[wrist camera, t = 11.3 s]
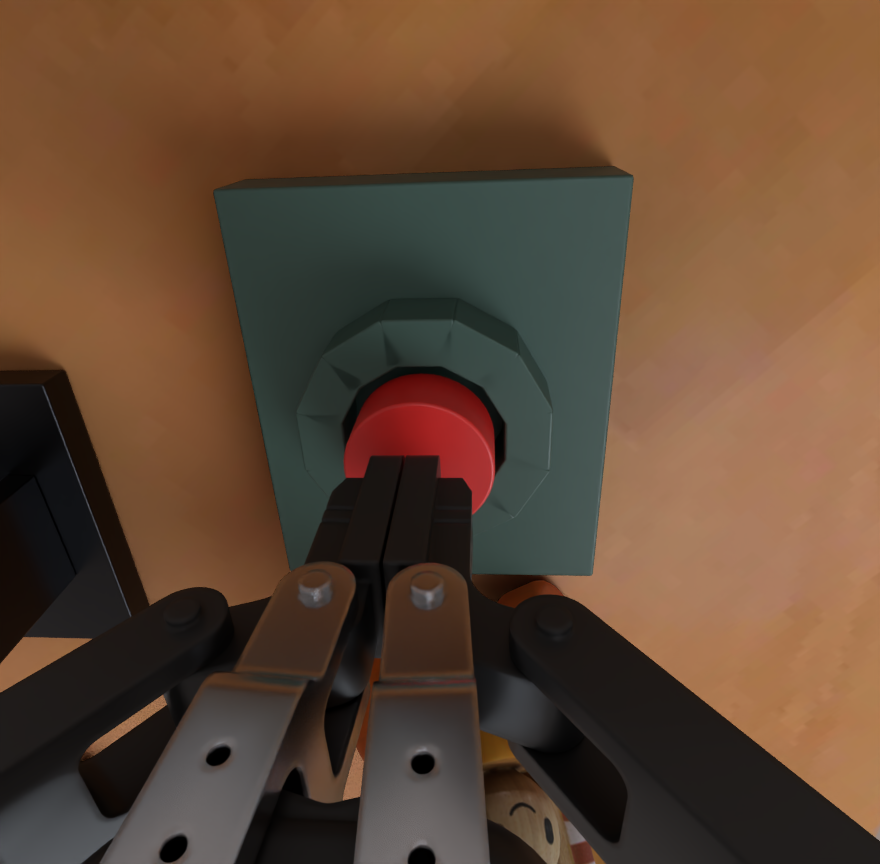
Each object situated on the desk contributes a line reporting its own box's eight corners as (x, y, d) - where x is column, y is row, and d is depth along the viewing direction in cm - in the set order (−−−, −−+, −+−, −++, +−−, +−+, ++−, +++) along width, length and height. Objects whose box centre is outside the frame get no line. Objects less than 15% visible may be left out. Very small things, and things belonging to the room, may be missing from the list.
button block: (243, 179, 17) (177, 199, 13) (616, 165, 16) (654, 184, 12) (306, 531, 22) (272, 611, 19) (583, 534, 22) (602, 618, 18)
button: (349, 372, 15) (334, 403, 14) (494, 371, 15) (495, 402, 13) (363, 493, 17) (351, 532, 15) (494, 493, 17) (495, 533, 15)
